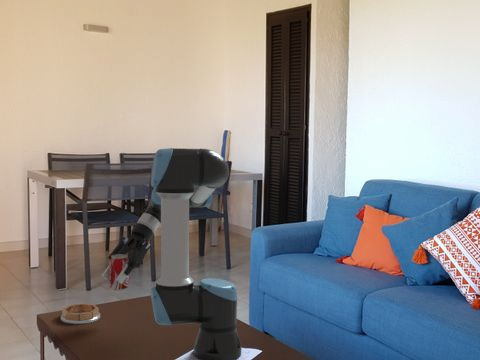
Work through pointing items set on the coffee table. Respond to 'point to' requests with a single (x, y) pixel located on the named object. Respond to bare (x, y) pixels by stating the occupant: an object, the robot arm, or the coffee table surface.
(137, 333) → the coffee table surface
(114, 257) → the soda can
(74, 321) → the round wooden tray
